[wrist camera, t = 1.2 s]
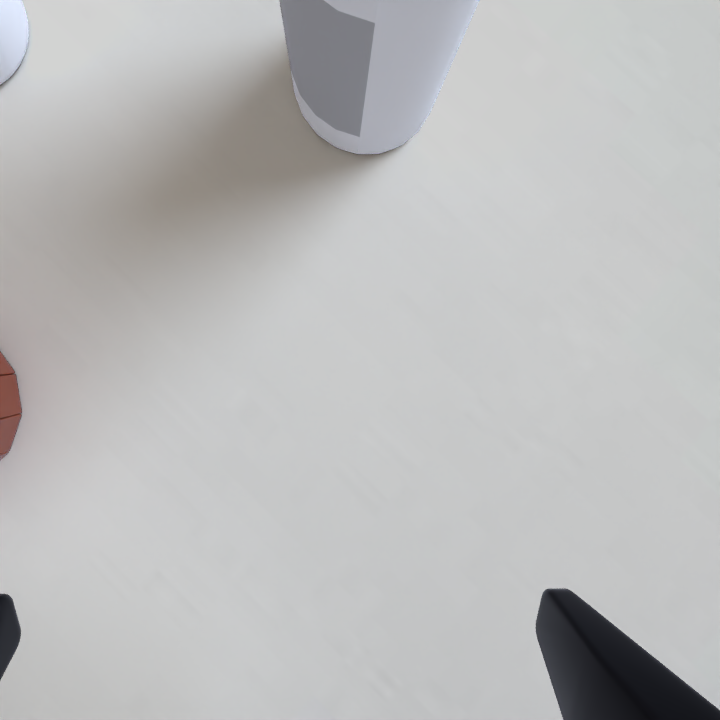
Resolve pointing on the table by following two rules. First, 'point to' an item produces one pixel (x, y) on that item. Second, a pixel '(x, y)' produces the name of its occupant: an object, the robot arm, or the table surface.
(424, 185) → the table surface
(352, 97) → the spray bottle
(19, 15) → the cosmetic bottle
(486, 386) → the table surface
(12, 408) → the cup
